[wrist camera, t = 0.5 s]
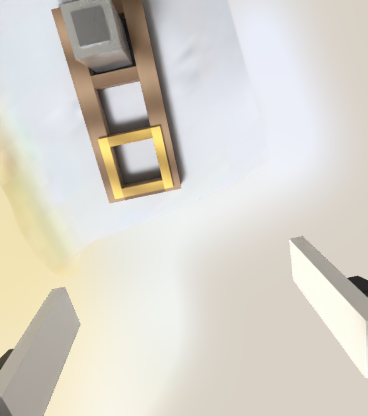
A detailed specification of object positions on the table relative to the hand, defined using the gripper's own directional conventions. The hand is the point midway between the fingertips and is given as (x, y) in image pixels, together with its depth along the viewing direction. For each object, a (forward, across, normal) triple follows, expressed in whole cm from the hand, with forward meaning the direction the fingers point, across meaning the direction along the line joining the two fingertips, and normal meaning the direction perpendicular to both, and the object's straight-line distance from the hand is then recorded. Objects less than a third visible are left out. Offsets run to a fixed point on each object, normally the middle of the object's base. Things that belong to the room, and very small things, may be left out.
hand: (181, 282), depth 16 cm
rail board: (+25, -4, +11) cm, 28 cm away
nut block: (+26, -4, +18) cm, 31 cm away
